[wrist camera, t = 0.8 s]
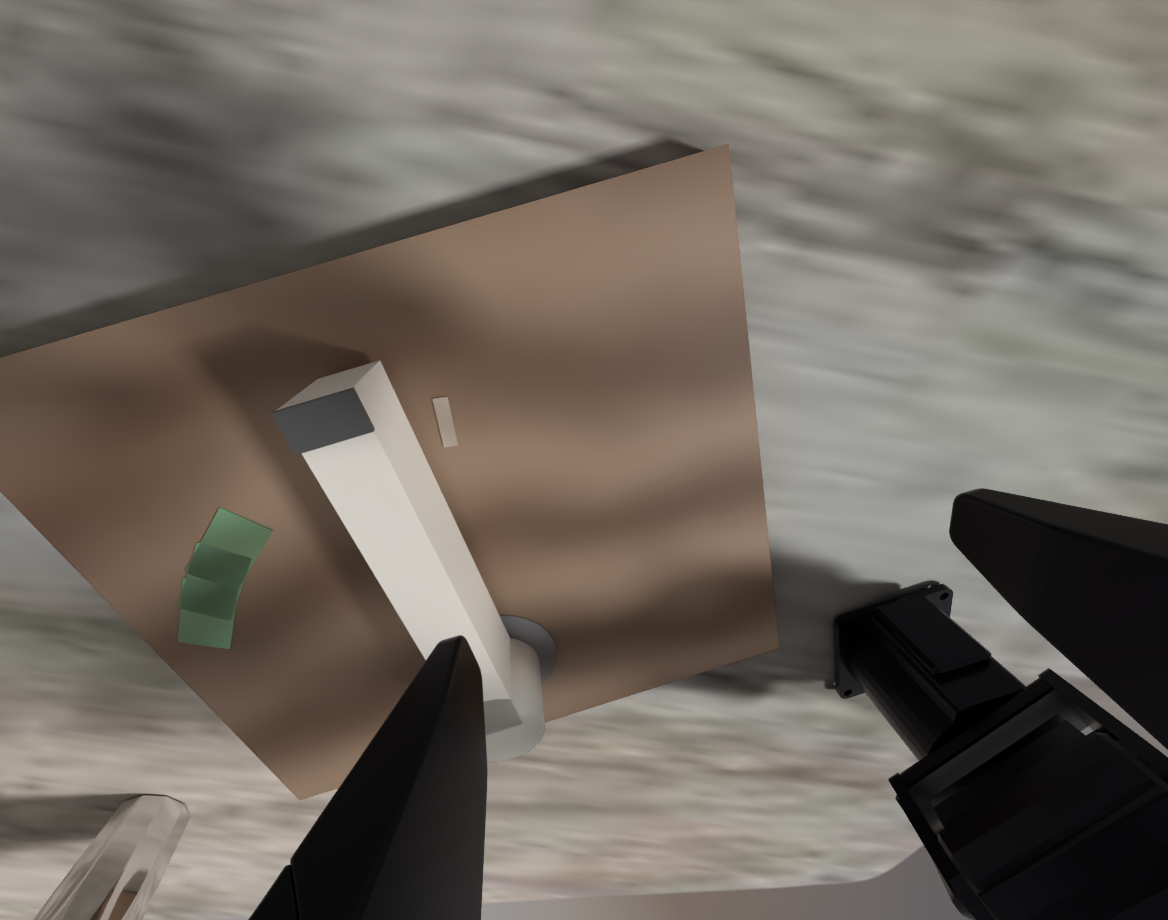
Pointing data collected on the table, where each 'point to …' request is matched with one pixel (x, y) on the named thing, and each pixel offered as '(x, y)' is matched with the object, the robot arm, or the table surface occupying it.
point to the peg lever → (412, 539)
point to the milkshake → (121, 863)
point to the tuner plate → (452, 449)
